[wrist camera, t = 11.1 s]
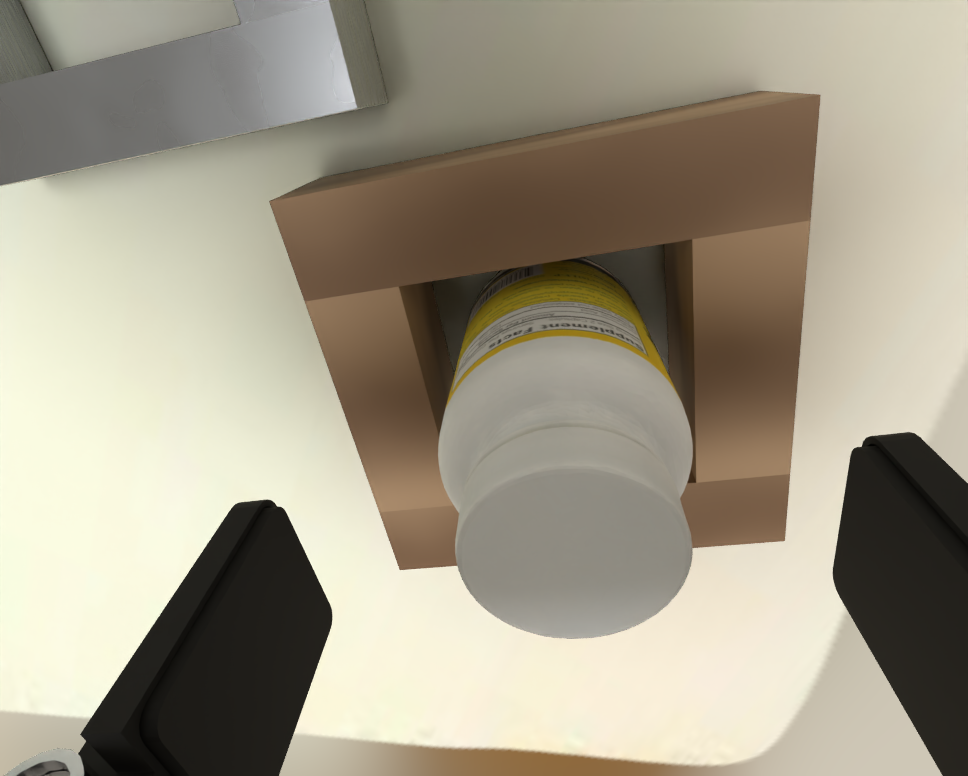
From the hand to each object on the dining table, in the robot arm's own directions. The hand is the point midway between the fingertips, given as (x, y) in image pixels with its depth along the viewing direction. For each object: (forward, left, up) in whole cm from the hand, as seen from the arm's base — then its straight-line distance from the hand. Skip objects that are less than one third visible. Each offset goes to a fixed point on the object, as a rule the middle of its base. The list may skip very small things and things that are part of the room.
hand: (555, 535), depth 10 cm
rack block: (+1, 0, -10) cm, 9 cm away
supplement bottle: (0, 0, -10) cm, 10 cm away
